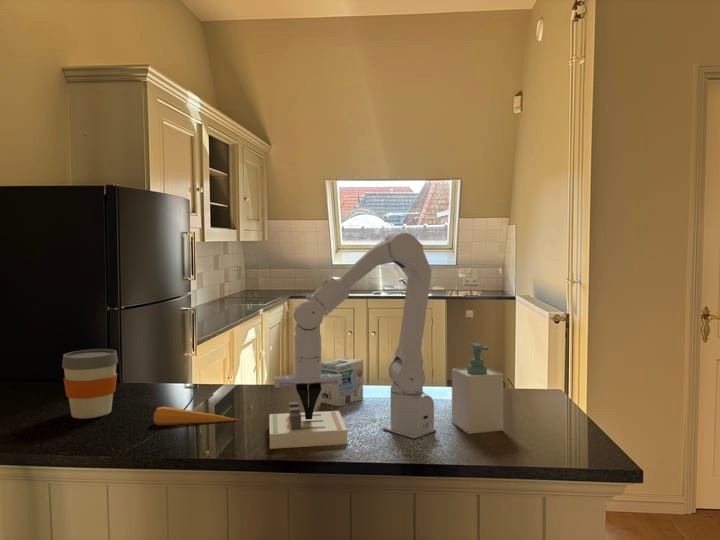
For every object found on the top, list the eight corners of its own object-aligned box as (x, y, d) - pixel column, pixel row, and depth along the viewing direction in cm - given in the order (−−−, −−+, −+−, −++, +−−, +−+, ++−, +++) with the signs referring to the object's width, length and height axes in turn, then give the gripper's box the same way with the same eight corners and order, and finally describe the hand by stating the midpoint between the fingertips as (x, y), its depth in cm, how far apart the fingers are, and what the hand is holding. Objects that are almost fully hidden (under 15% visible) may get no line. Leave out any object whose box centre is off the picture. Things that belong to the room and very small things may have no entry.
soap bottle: (468, 434, 122) (468, 348, 121) (451, 422, 130) (451, 341, 129) (503, 431, 124) (504, 346, 123) (484, 419, 132) (485, 339, 132)
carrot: (151, 430, 128) (151, 414, 127) (156, 417, 132) (156, 401, 131) (239, 434, 131) (240, 418, 130) (241, 421, 136) (242, 406, 134)
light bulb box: (339, 407, 143) (339, 366, 143) (319, 403, 147) (319, 362, 147) (364, 398, 152) (364, 359, 151) (345, 394, 156) (344, 356, 155)
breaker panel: (338, 423, 130) (338, 398, 129) (347, 444, 116) (347, 415, 116) (269, 427, 127) (269, 401, 127) (269, 448, 113) (269, 419, 113)
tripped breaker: (299, 418, 122) (298, 407, 122) (299, 421, 120) (299, 409, 120) (289, 419, 122) (289, 407, 122) (290, 422, 120) (290, 410, 120)
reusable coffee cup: (99, 403, 147) (97, 347, 147) (129, 410, 141) (128, 351, 140) (52, 415, 137) (50, 355, 136) (83, 423, 130) (81, 360, 130)
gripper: (338, 351, 126) (339, 411, 126) (274, 354, 124) (274, 414, 124) (343, 357, 119) (343, 420, 120) (274, 360, 117) (275, 424, 117)
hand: (308, 418), depth 121 cm, fingers closed
